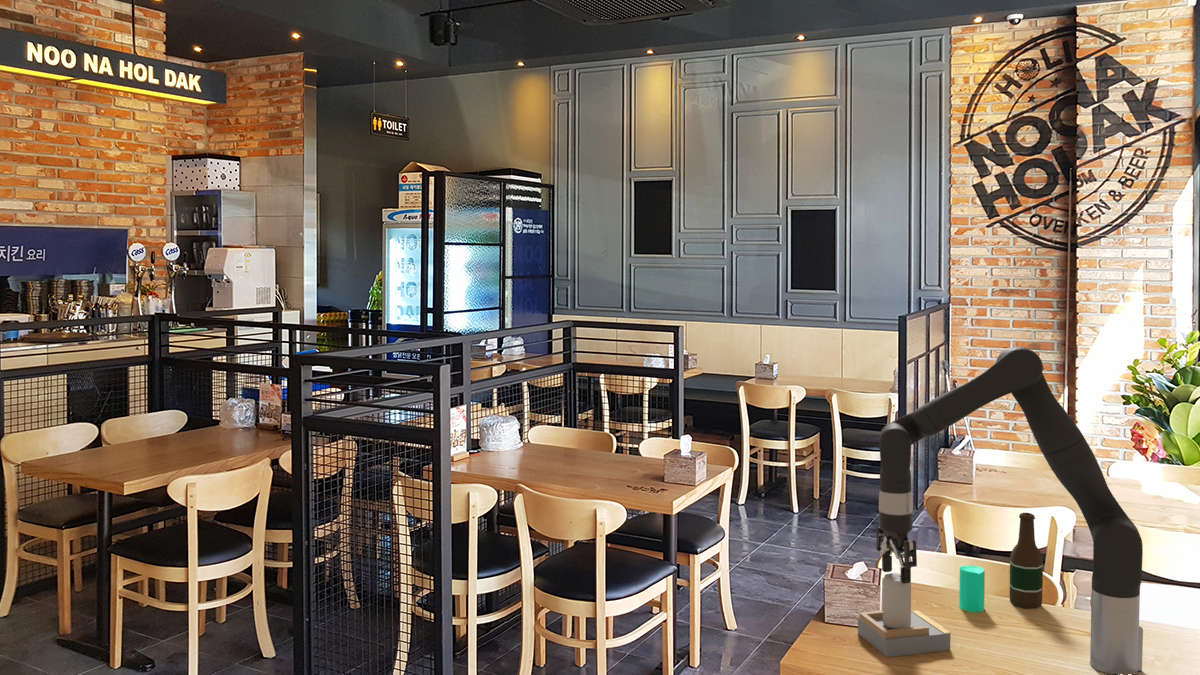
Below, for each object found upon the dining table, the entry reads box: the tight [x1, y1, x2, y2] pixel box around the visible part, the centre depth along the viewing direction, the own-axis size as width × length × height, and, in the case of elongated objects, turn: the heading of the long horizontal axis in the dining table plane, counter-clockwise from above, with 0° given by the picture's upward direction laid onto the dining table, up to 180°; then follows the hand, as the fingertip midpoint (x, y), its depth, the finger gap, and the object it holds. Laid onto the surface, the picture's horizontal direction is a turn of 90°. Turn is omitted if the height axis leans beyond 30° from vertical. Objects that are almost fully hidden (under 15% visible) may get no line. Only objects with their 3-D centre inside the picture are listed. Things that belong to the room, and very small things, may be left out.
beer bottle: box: [1009, 512, 1044, 610], centre depth 241 cm, size 8×8×24 cm
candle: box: [958, 562, 986, 613], centre depth 240 cm, size 6×6×12 cm
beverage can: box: [882, 572, 912, 629], centre depth 218 cm, size 6×6×12 cm
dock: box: [857, 609, 951, 658], centre depth 220 cm, size 16×14×6 cm
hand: (896, 577), depth 218 cm, fingers open, 8 cm apart
